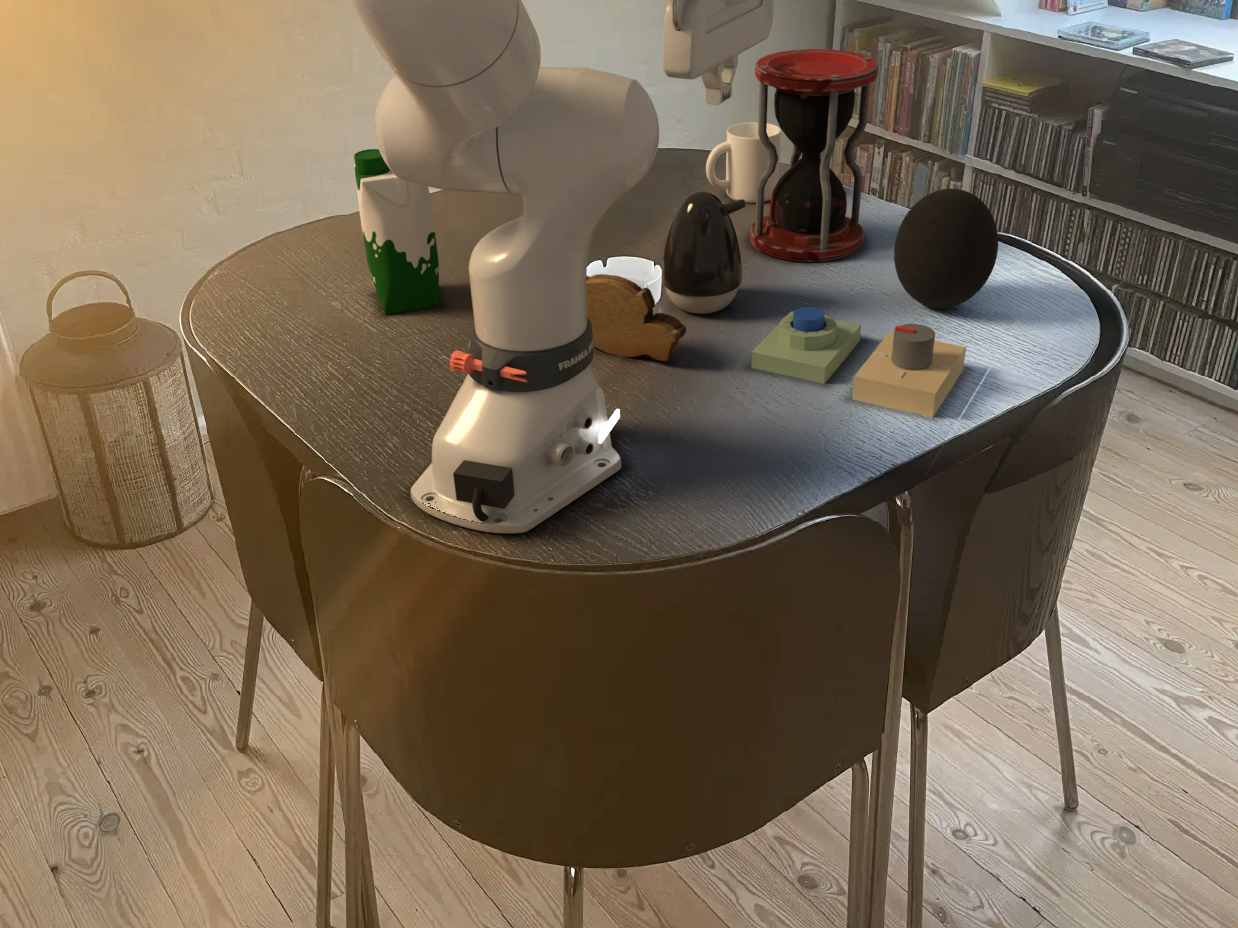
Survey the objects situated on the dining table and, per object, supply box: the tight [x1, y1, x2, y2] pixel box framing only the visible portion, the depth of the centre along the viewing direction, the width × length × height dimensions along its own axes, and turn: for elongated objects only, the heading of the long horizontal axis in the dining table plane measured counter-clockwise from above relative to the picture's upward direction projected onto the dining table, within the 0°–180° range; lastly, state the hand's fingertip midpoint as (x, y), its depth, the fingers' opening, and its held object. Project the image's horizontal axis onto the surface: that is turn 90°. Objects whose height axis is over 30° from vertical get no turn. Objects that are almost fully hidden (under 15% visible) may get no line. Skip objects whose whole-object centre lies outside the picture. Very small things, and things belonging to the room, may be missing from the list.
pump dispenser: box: [661, 190, 747, 315], centre depth 147 cm, size 10×10×15 cm
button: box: [793, 306, 826, 332], centre depth 137 cm, size 4×4×2 cm
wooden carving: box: [586, 273, 687, 362], centre depth 138 cm, size 16×5×10 cm, turn 64°
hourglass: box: [749, 48, 879, 263], centre depth 162 cm, size 16×16×25 cm
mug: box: [705, 121, 782, 204], centre depth 182 cm, size 12×8×10 cm
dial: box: [891, 323, 936, 370], centre depth 129 cm, size 4×4×4 cm
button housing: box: [751, 311, 862, 385], centre depth 138 cm, size 12×9×4 cm
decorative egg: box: [893, 188, 999, 309], centre depth 145 cm, size 12×12×15 cm
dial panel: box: [852, 331, 967, 418], centre depth 131 cm, size 12×9×3 cm
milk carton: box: [353, 148, 440, 315], centre depth 150 cm, size 9×9×20 cm
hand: (718, 101), depth 127 cm, fingers closed
